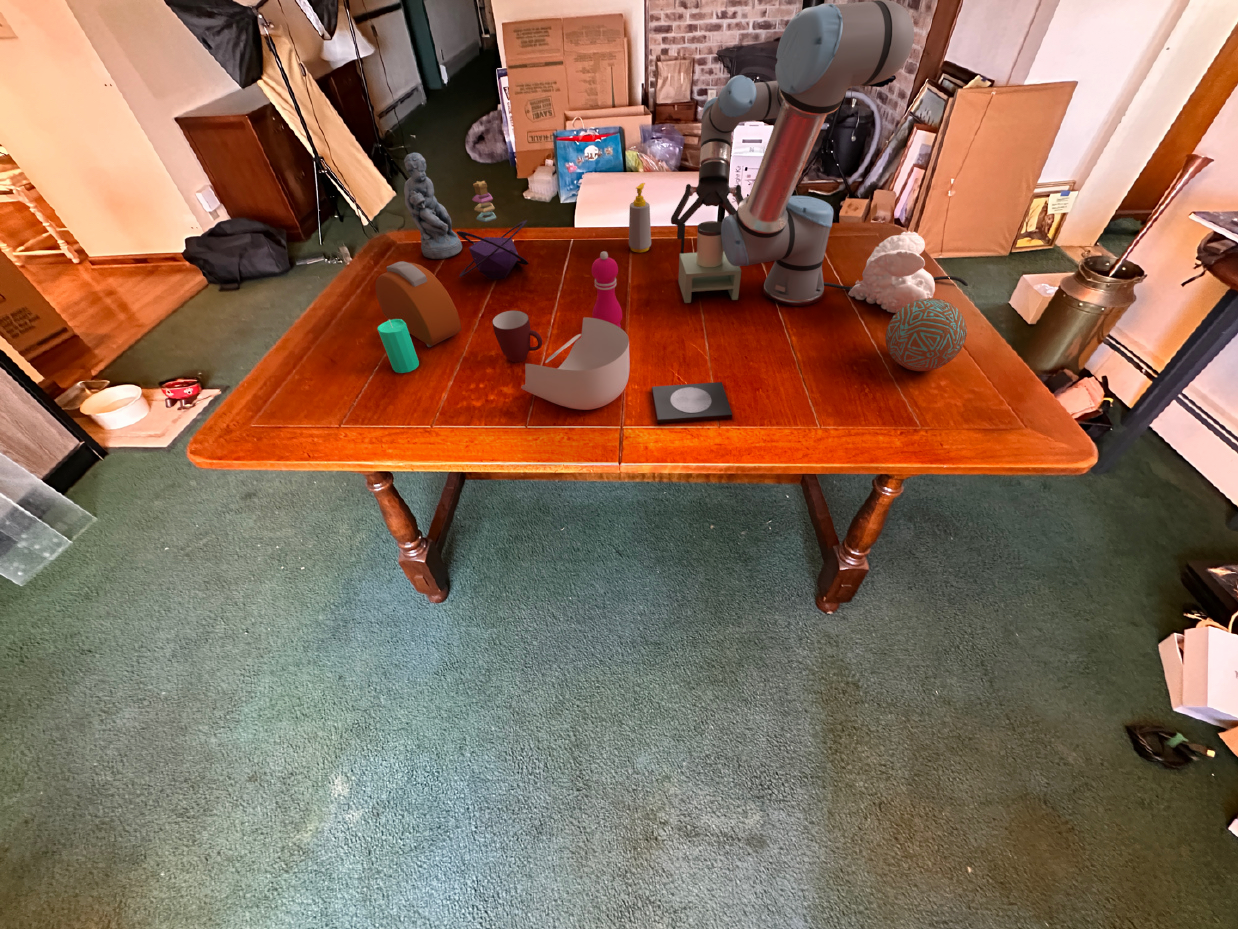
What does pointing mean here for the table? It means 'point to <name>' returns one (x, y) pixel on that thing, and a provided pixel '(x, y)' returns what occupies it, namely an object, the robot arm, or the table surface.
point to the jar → (709, 244)
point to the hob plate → (691, 403)
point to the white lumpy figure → (895, 274)
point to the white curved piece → (585, 369)
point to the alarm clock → (417, 302)
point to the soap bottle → (639, 223)
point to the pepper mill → (606, 290)
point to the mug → (515, 335)
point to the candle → (398, 345)
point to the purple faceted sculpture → (491, 242)
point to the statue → (428, 212)
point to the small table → (707, 277)
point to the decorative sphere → (926, 334)
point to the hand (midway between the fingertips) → (709, 252)
